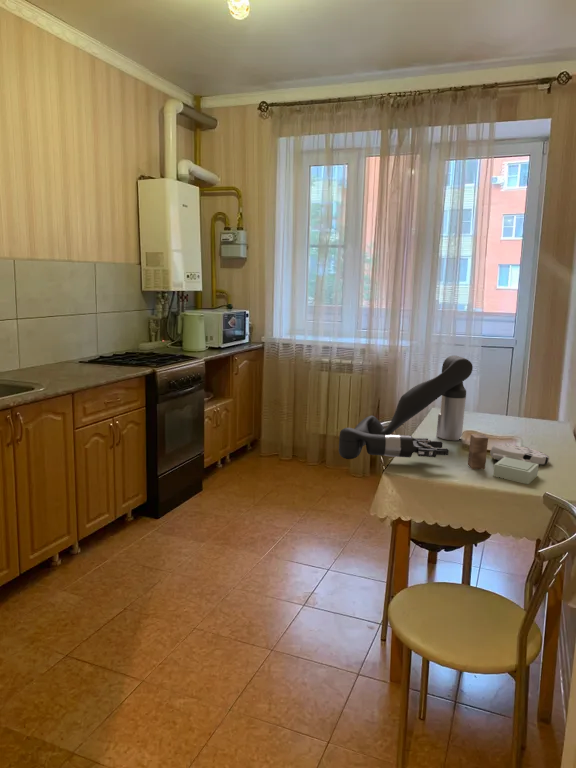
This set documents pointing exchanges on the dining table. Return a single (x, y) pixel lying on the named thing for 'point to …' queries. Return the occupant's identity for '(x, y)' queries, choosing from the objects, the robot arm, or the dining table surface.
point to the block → (477, 451)
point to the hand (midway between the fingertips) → (445, 448)
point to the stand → (515, 470)
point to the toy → (518, 454)
